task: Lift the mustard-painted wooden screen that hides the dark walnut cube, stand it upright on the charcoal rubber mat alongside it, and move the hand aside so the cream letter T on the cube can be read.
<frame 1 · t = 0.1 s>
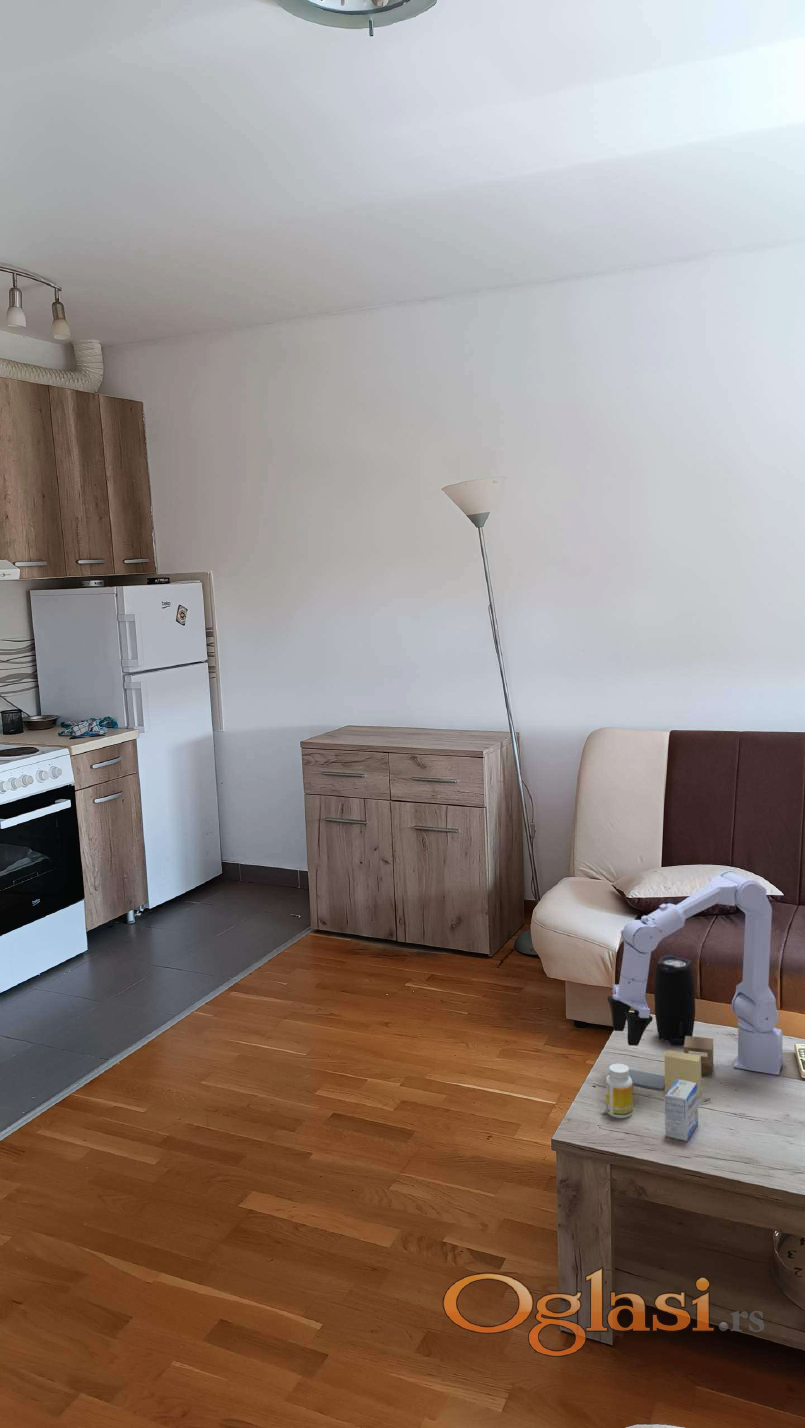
hand: (625, 1037, 213), 10 cm above the table, tool pointing down, fingers open, 7 cm apart
mat: (645, 1080, 215), on the table
medicine box: (681, 1131, 195), on the table
portable speaker: (675, 1040, 235), on the table
supplement bottle: (619, 1113, 202), on the table
letter cube: (698, 1068, 220), on the table
screen: (683, 1091, 210), on the table
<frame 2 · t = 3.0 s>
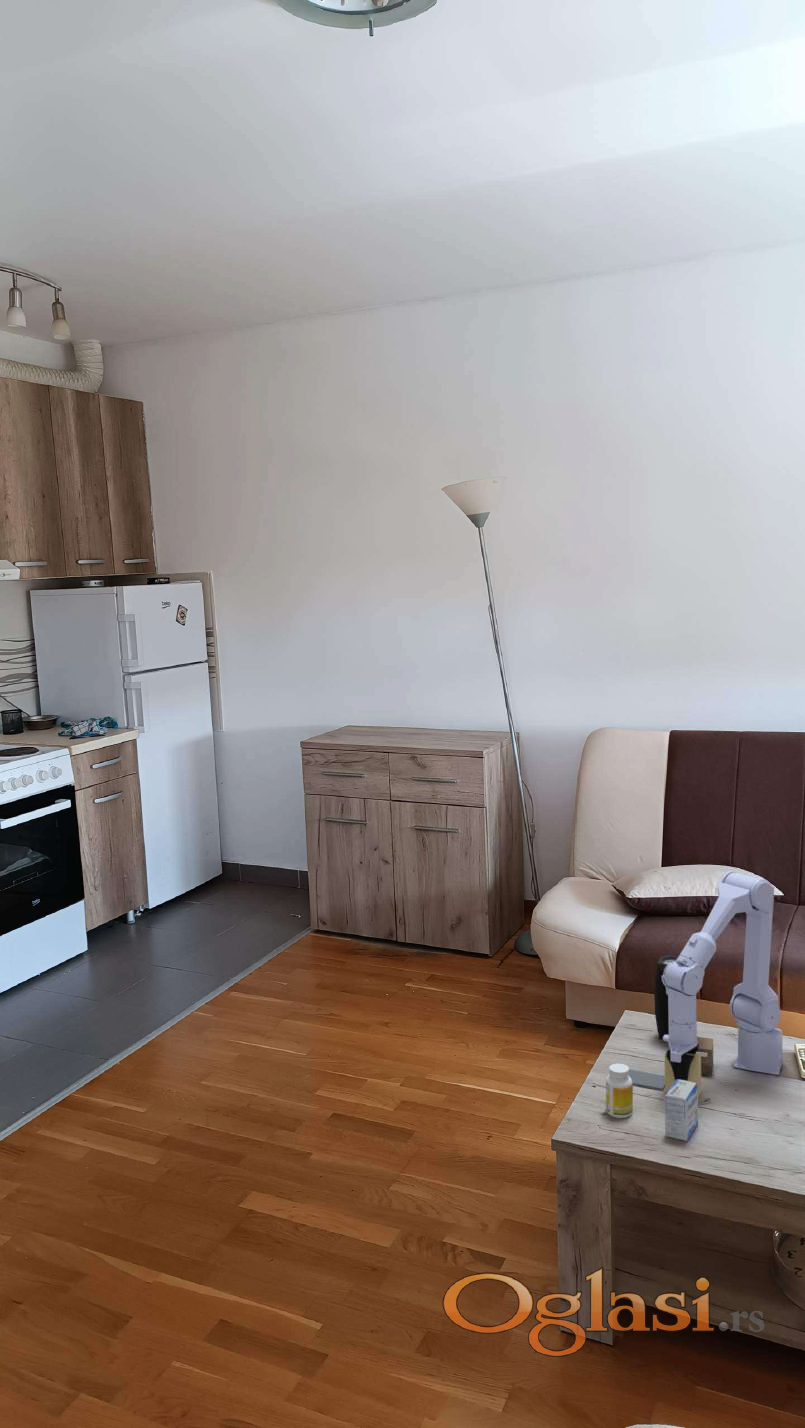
hand: (683, 1080, 210), 2 cm above the table, tool pointing down, fingers closed on screen, 3 cm apart
screen: (683, 1091, 210), on the table, touching gripper
everything else where it was.
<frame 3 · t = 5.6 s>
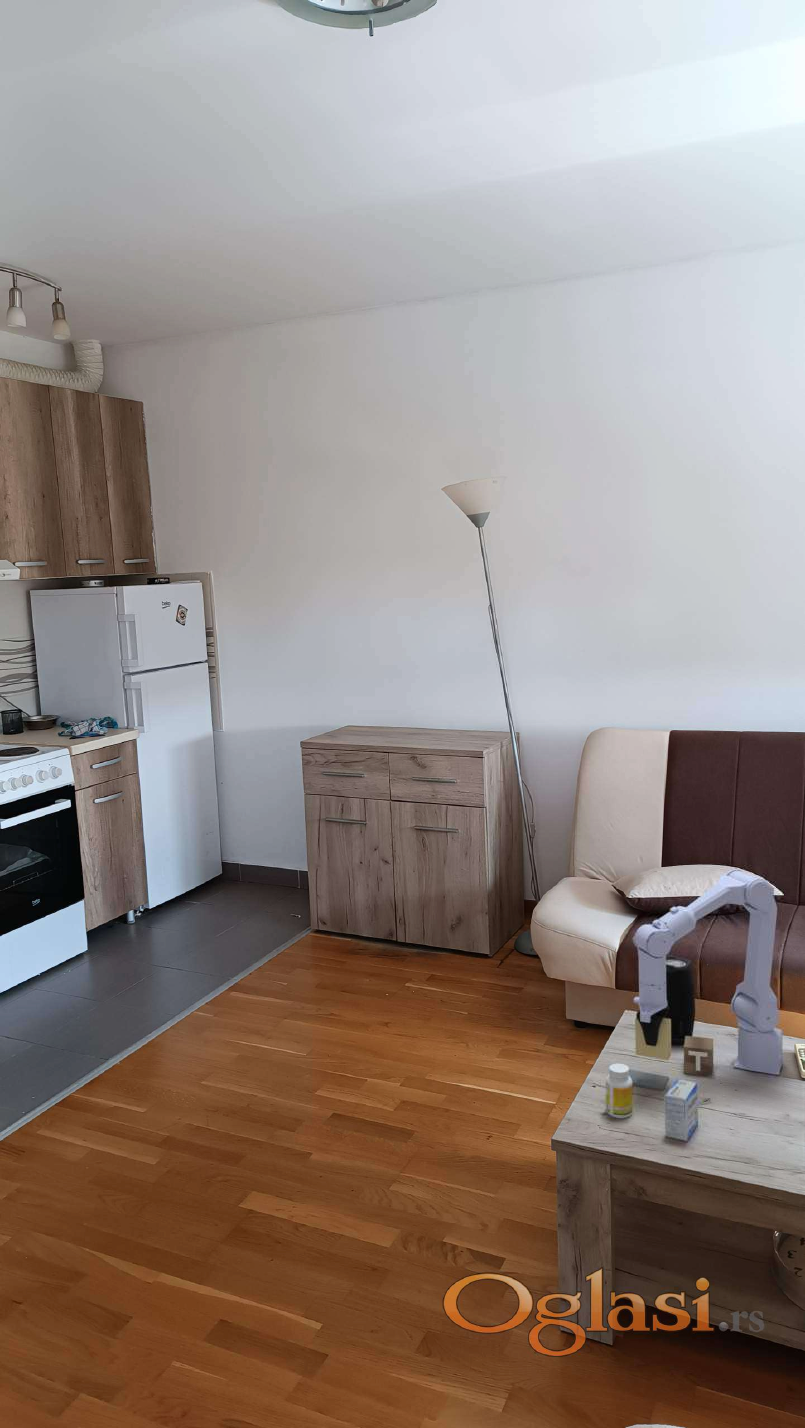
hand: (653, 1041, 213), 9 cm above the table, tool pointing down, fingers closed on screen, 3 cm apart
screen: (653, 1054, 213), point 7 cm above the table, touching gripper
everything else where it was.
when the fingers open (4 cm above the table, at t = 8.2 s): screen stays where it is, resting on mat.
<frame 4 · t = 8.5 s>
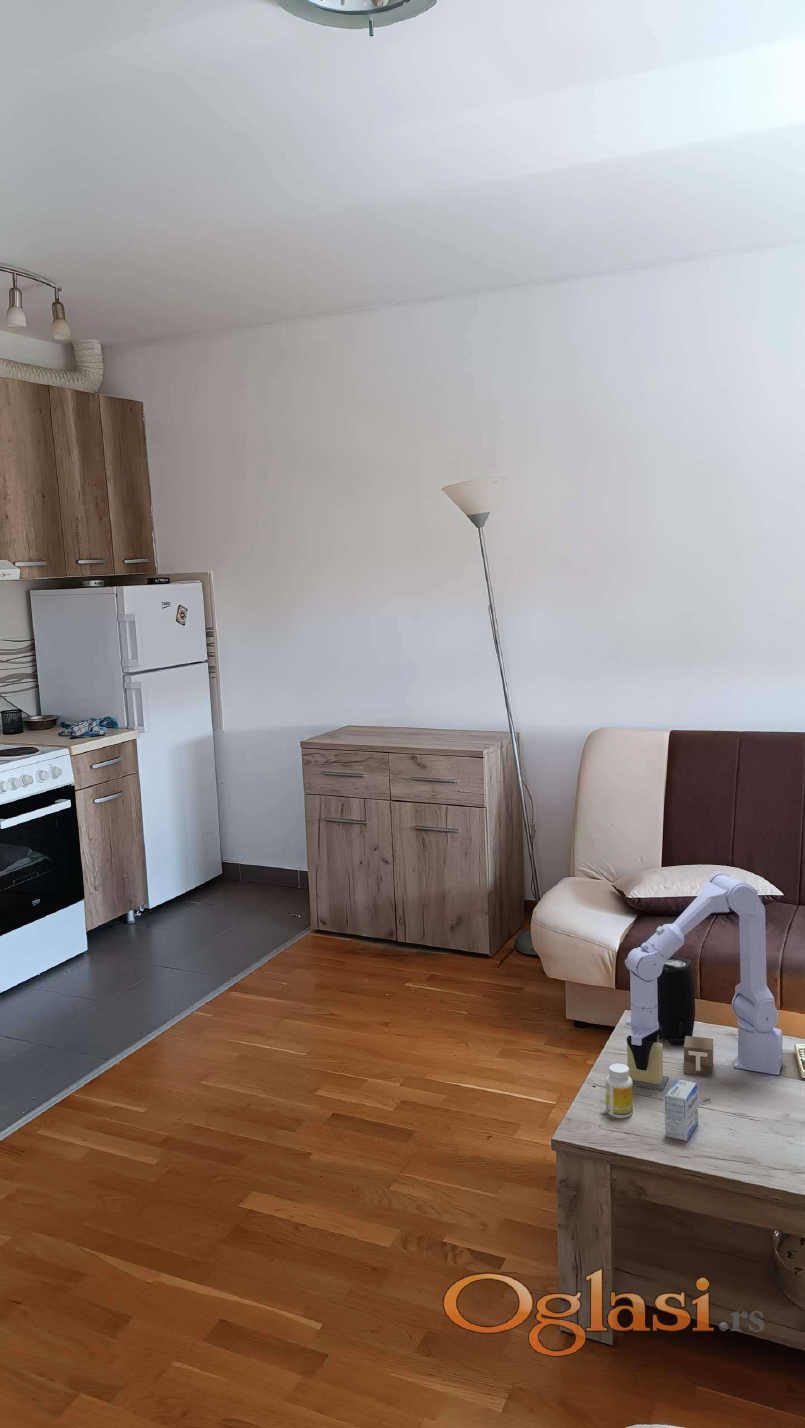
hand: (644, 1063, 215), 4 cm above the table, tool pointing down, fingers open, 5 cm apart
screen: (645, 1078, 215), resting on mat
everything else where it was.
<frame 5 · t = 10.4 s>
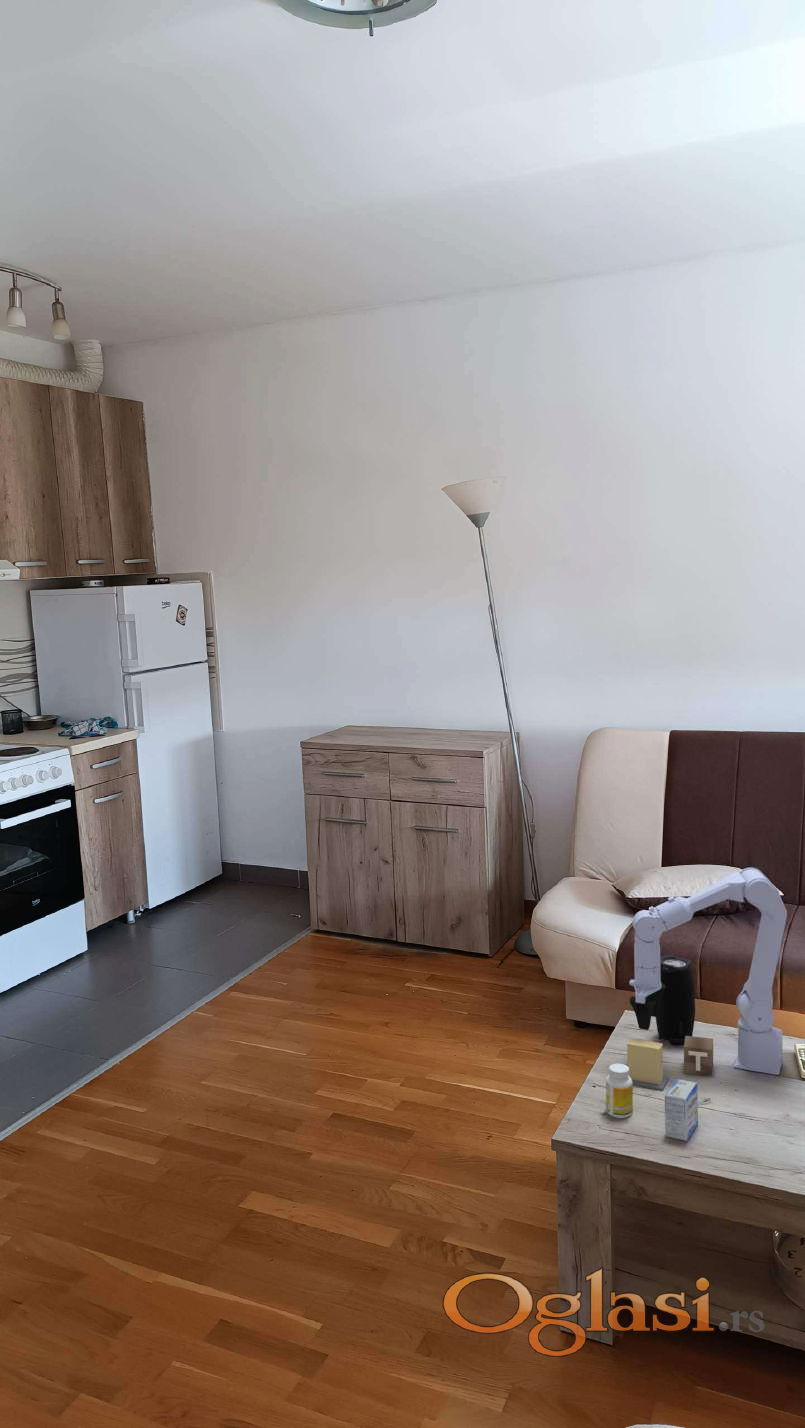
hand: (648, 1022, 223), 9 cm above the table, tool pointing down, fingers open, 7 cm apart
nothing on the table moved.
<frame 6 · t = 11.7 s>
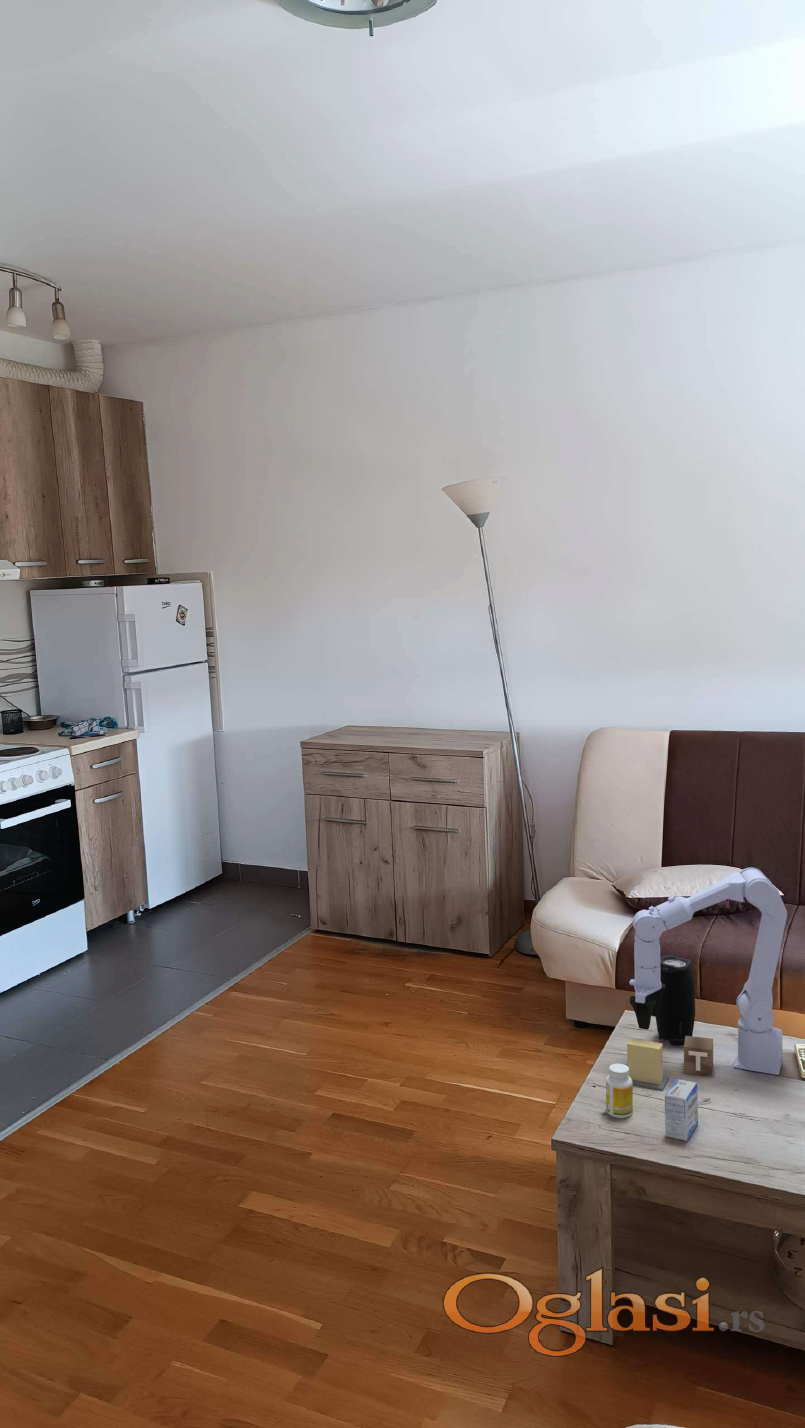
hand: (648, 1022, 224), 9 cm above the table, tool pointing down, fingers open, 7 cm apart
nothing on the table moved.
at the end: screen 0.1 cm off-centre on the mat, point 0.5 cm above the mat's base; screen tilted 0°; the gripper is holding nothing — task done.
